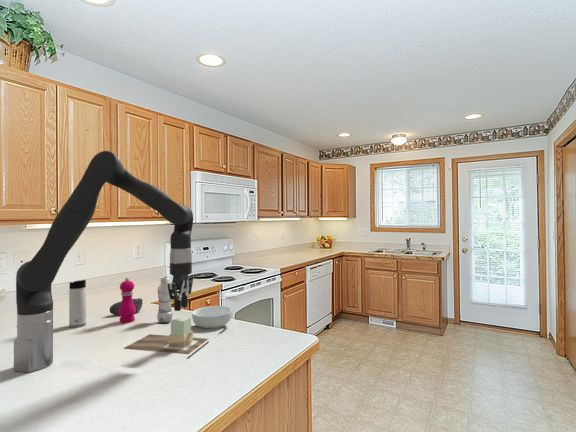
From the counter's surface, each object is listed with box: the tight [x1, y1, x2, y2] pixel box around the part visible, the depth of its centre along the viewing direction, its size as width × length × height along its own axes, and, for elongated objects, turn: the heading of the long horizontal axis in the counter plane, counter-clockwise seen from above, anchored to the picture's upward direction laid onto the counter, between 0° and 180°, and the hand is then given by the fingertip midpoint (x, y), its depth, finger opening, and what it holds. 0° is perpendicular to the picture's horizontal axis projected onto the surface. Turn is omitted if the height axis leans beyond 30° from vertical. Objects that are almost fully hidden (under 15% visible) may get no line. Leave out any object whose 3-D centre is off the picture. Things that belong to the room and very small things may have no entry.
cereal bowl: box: [191, 305, 233, 329], centre depth 147 cm, size 17×17×7 cm
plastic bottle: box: [156, 276, 173, 324], centre depth 154 cm, size 6×7×20 cm
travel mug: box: [68, 279, 87, 329], centre depth 150 cm, size 6×7×20 cm
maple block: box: [168, 330, 194, 348], centre depth 122 cm, size 6×6×4 cm
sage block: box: [170, 316, 192, 336], centre depth 122 cm, size 5×5×5 cm
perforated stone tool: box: [109, 297, 143, 316], centre depth 169 cm, size 15×5×7 cm, turn 117°
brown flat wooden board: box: [122, 333, 210, 360], centre depth 123 cm, size 15×25×2 cm, turn 77°
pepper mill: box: [118, 277, 137, 324], centre depth 156 cm, size 7×7×20 cm
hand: (181, 308), depth 122 cm, fingers open, 4 cm apart
